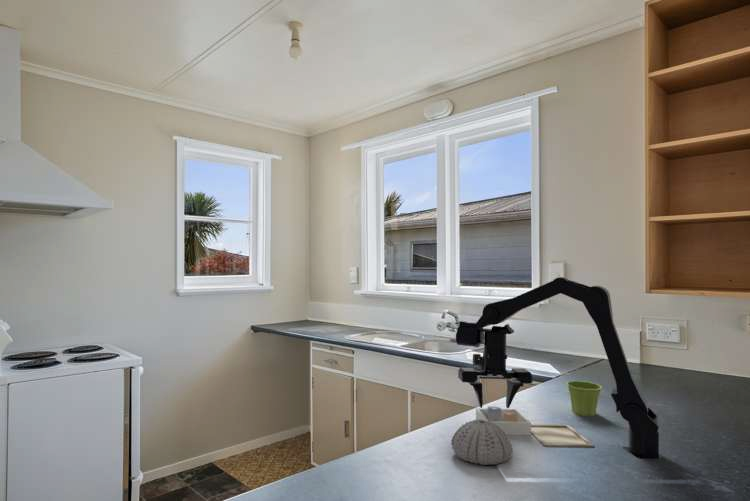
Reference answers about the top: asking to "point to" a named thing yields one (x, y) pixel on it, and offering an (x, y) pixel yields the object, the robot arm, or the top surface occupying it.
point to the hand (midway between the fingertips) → (494, 407)
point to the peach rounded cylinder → (510, 416)
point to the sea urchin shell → (481, 443)
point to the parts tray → (558, 436)
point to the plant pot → (584, 397)
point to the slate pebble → (493, 413)
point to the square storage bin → (508, 427)
